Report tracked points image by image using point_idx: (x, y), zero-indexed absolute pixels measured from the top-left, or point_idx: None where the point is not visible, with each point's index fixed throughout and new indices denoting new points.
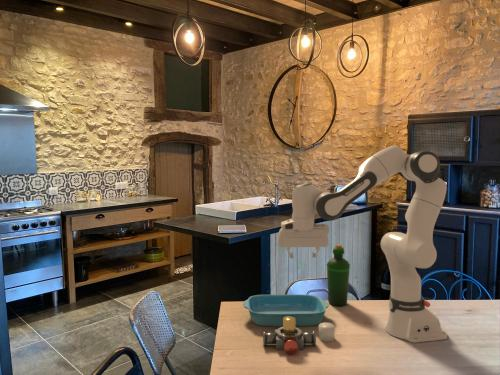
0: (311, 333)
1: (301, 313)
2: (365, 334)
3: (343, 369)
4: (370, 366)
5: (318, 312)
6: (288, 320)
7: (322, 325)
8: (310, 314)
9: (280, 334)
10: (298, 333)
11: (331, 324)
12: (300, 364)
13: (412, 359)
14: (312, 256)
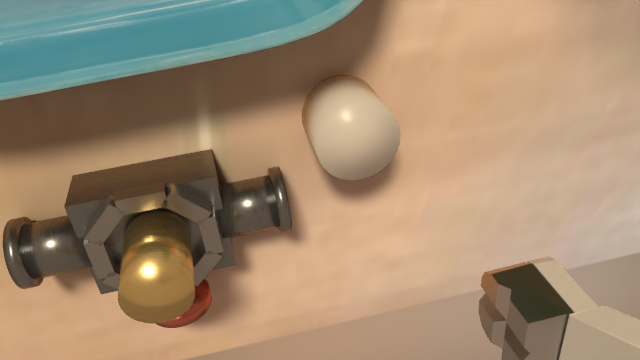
0: (272, 220)
1: (211, 55)
2: (535, 41)
3: (368, 311)
4: (459, 277)
5: (332, 19)
6: (155, 313)
7: (336, 141)
8: (274, 45)
9: (116, 284)
10: (208, 256)
11: (387, 121)
12: (222, 321)
13: (610, 209)
14: (487, 284)
